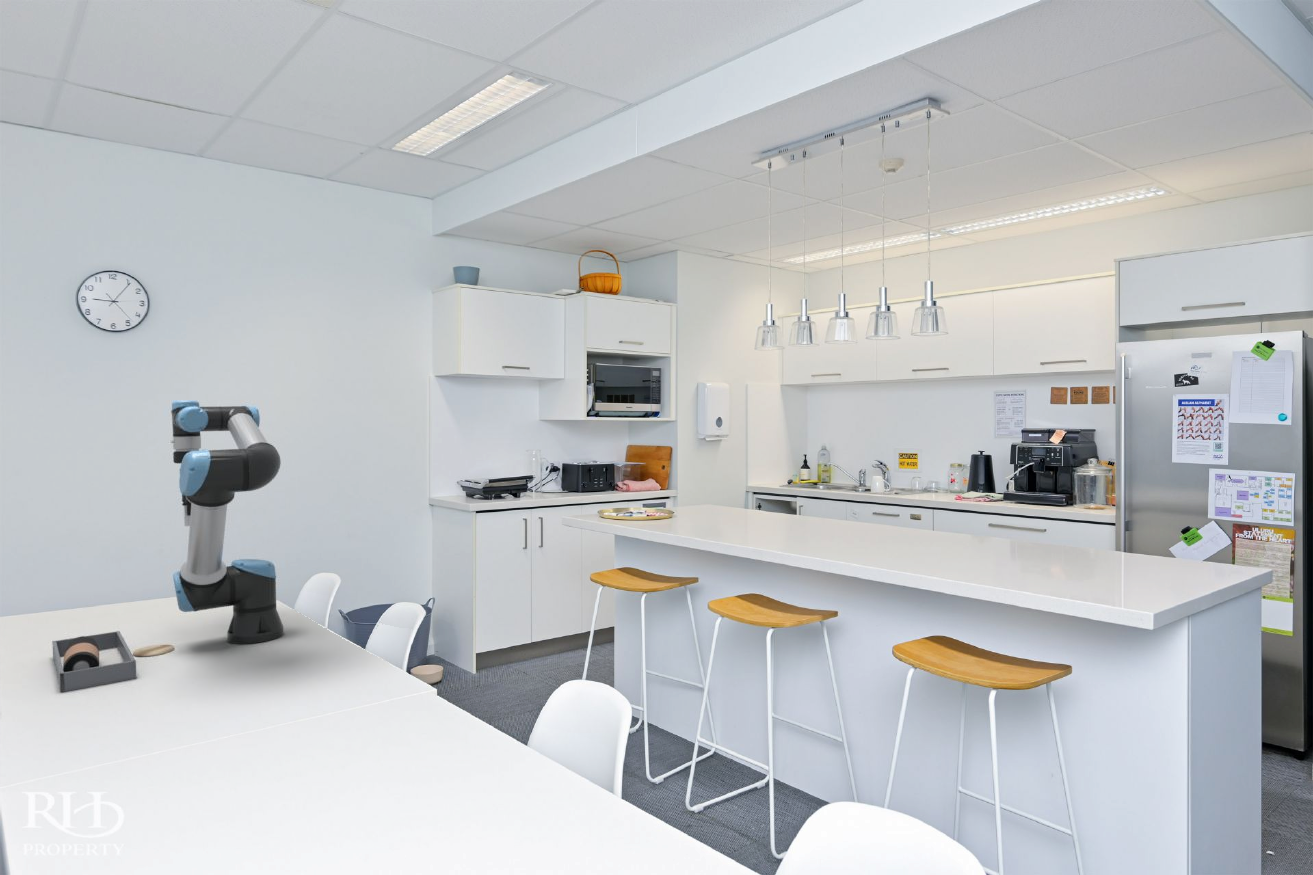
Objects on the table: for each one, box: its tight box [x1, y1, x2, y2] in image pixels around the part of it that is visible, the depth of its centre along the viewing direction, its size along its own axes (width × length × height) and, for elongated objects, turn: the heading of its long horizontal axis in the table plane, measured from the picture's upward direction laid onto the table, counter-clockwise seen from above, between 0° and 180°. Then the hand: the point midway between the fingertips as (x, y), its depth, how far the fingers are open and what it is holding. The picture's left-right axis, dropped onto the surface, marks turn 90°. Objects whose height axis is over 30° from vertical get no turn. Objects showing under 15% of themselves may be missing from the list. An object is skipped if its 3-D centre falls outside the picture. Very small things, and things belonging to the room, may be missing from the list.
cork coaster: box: [132, 644, 175, 658], centre depth 229 cm, size 10×10×1 cm
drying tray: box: [51, 630, 137, 693], centre depth 216 cm, size 37×16×4 cm, turn 39°
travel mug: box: [62, 635, 100, 672], centre depth 211 cm, size 8×8×20 cm
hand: (189, 525), depth 252 cm, fingers closed
